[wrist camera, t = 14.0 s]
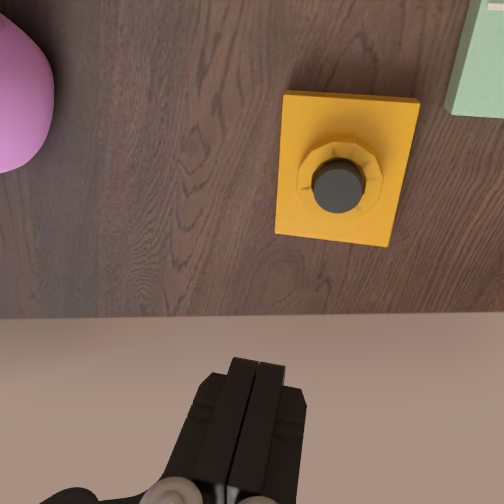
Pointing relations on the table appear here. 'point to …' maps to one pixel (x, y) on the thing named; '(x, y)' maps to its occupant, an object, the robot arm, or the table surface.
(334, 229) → the housing
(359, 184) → the dark grey push button
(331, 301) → the table surface
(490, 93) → the green dial base plate
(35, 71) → the teapot
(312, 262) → the table surface
